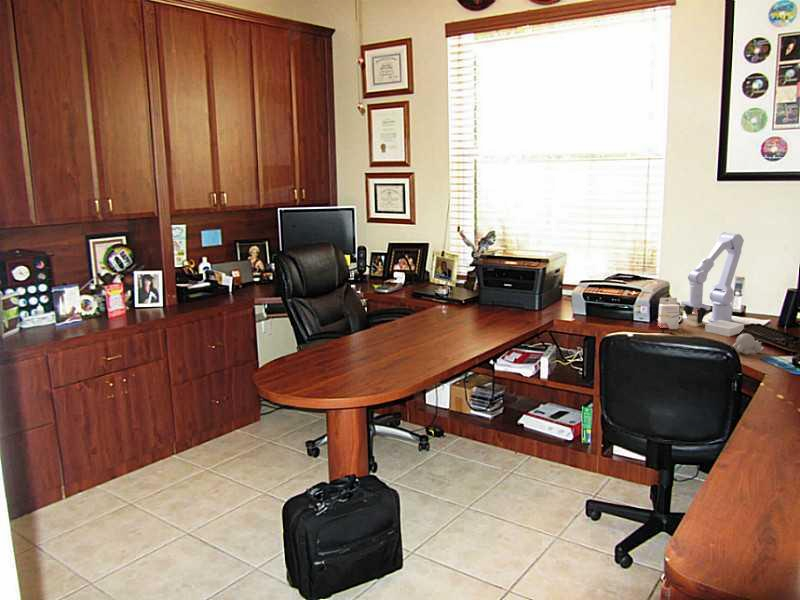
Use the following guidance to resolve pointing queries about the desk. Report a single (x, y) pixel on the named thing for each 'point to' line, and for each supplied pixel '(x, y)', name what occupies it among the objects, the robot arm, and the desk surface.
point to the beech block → (693, 320)
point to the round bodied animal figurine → (747, 344)
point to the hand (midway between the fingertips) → (694, 322)
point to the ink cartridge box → (668, 313)
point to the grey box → (724, 328)
